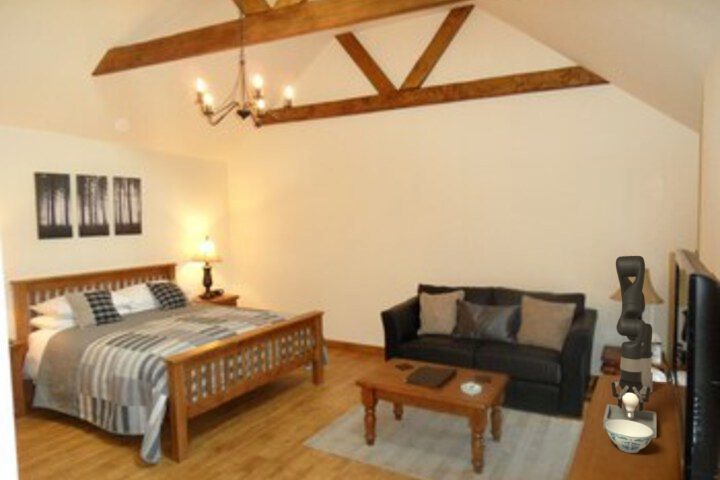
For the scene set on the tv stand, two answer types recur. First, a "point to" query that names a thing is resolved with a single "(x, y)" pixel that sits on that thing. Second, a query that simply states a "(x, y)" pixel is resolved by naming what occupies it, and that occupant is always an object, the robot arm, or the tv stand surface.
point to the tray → (640, 417)
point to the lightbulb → (630, 403)
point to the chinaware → (629, 435)
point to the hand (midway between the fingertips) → (630, 409)
